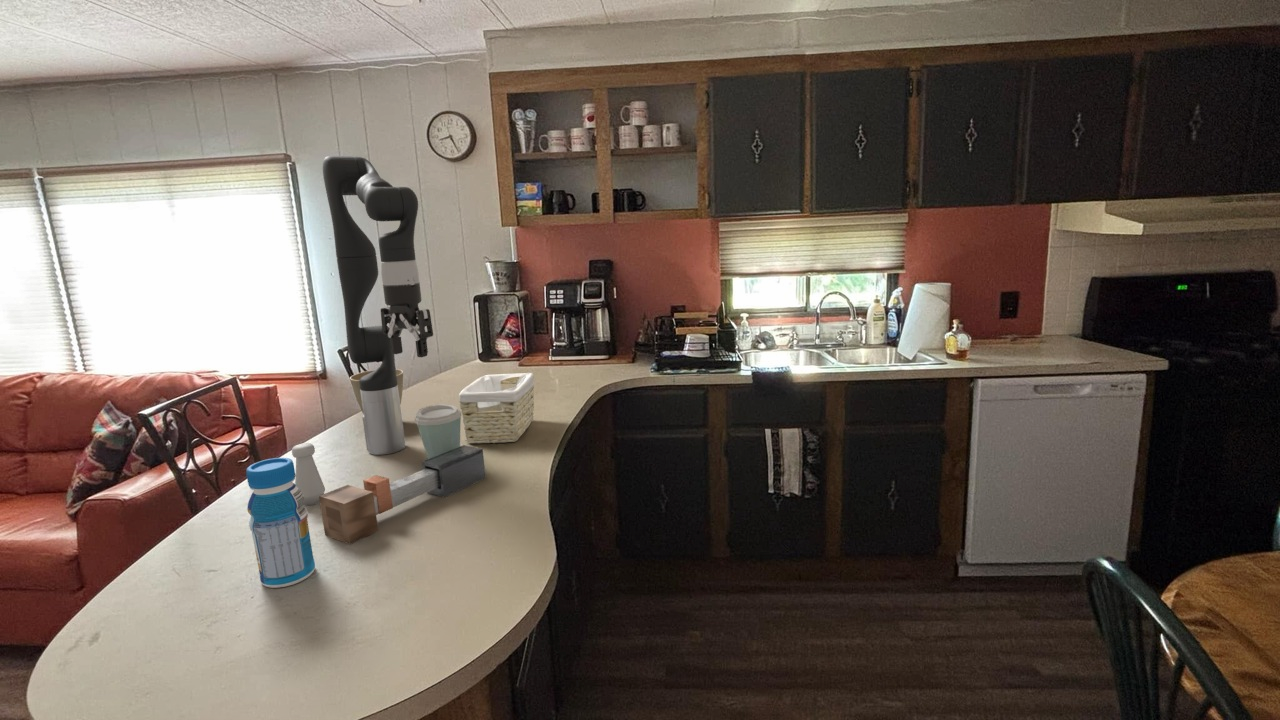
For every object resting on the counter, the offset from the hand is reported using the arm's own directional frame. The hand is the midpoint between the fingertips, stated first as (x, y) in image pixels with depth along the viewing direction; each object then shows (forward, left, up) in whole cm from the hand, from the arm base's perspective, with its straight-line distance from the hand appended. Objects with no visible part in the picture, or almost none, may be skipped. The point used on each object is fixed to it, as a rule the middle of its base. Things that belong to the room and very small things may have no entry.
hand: (410, 355), depth 142 cm
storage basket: (-10, +35, -30) cm, 47 cm away
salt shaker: (-13, -20, -30) cm, 38 cm away
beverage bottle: (+14, -40, -30) cm, 52 cm away
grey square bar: (+9, -14, -27) cm, 32 cm away
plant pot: (-49, +24, -30) cm, 62 cm away
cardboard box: (+9, -25, -30) cm, 40 cm away
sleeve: (+9, +1, -30) cm, 31 cm away
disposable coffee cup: (-2, +7, -30) cm, 31 cm away
